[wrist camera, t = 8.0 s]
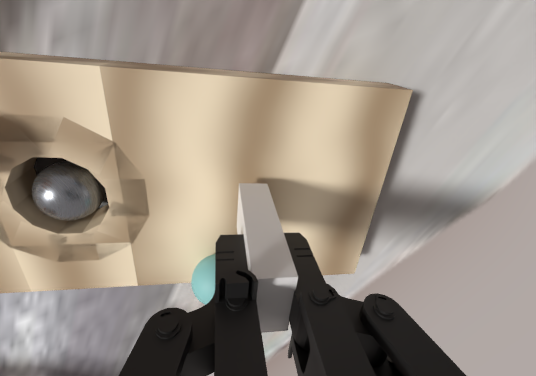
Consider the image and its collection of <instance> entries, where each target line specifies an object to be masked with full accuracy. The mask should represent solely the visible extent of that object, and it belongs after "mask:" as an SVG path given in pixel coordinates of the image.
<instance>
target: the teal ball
mask: <svg viewBox="0 0 536 376" xmlns="http://www.w3.org/2000/svg"><path fill="white" fill-rule="evenodd" d="M191 284H192V289H193V292H194V294H195V296H196V297H197V299H198V300H199V301H200V302H202V303H203V304H205V305H206V304H207V303H209V301H210V300H211V299H212V297H213V295H214V293H215V254H214V255H210V256H207V257H206V258H204V259H203V260H201V261H200V262H199V263H198V264H197V266H196V267H195V269H194V271H193V274H192V281H191Z"/></svg>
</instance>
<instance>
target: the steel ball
mask: <svg viewBox="0 0 536 376" xmlns="http://www.w3.org/2000/svg"><path fill="white" fill-rule="evenodd" d="M32 197H33V200H34V202H35V204H36V206H37V207H38V208H39V209H40V210H41V211H42V212H43V213H44V214H46V215H48V216H50V217H52V218H55V219H58V220H66V221H71V220H78V219H81V218H84V217H86V216H88V215H90V214H92V213H93V212H94V211H95V210H96V209H97V208H98V207H99V206H100V204H101V202H102V200H103V197H104V186H103V185H102V184H101V183H100V182H99V181H98V180H97V179H96V178H95V177H94V175H93V174H92V173H91V172H90V171H89V170H88V169H86V168H83V167H81V166H79V165H77V164H74V163H72V162H70V161H68V162H59V163H55V164H52V165H50V166H48V167H46V168H45V169H44V170H42V171H41V172H40V173H39V174H38V175H37V177H36V178H35V180H34V183H33V186H32Z"/></svg>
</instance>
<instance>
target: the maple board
mask: <svg viewBox="0 0 536 376" xmlns="http://www.w3.org/2000/svg"><path fill="white" fill-rule="evenodd" d="M412 92H413V90H410V89H407V88H403V87H400V86H396V85H393V84H389V83H380V82H368V81H356V80H343V79H331V78H319V77H306V76H294V75H282V74H269V73H257V72H245V71H232V70H220V69H208V68H195V67H183V66H171V65H158V64H146V63H134V62H121V61H109V60H97V59H84V58H72V57H60V56H47V55H35V54H23V53H10V52H0V293H14V292H32V291H49V290H67V289H85V288H103V287H121V286H139V285H156V284H174V283H191V281H192V274H193V271H194V269H195V267H196V266H197V264H198V263H199V262H200V261H201V260H203V259H204V258H206V257H207V256H210V255H214V254H215V248H216V241H217V240H218V238H219V236H220V235H237V210H238V192H239V183H261V184H268V187H269V190H270V193H271V196H272V199H273V202H274V205H275V208H276V211H277V214H278V217H279V220H280V223H281V226H282V229H283V232H284V233H300V234H301V235H303V236H304V237H305V238H306V239H307V241H308V243H309V246H310V249H311V250H312V253H313V256H314V257H315V260H316V262H317V264H318V266H319V269H320V271H321V273H322V275H335V274H353V273H355V270H356V267H357V264H358V261H359V257H360V254H361V251H362V248H363V245H364V242H365V239H366V235H367V232H368V229H369V226H370V223H371V220H372V217H373V214H374V210H375V207H376V204H377V201H378V198H379V195H380V192H381V189H382V185H383V182H384V179H385V176H386V173H387V170H388V167H389V163H390V160H391V157H392V154H393V151H394V148H395V145H396V142H397V138H398V135H399V132H400V129H401V126H402V123H403V120H404V117H405V113H406V110H407V107H408V104H409V101H410V98H411V95H412ZM37 157H47V158H63V159H65V160H68V161H70V162H72V163H74V164H77V165H79V166H81V167H83V168H86V169H88V170H89V171H90V172H91V173H92V174H93V175H94V177H95V178H96V179H97V180H98V181H99V182H100V183H101V184H102V185H103V186H104V187H105V190H106V195H107V200H108V204H107V205H105V206H103V207H101V208H99V209H96V210H95V211H94V212H93V213H92V214H90V215H88V216H86V217H84V218H81V219H78V220H71V221H66V220H58V219H55V218H52V217H50V216H48V215H46V214H44V213H43V212H42V211H41V210H40V209H39V208H38V207H37V206H36V204H35V202H34V200H33V197H32V186H33V183H34V180H35V178H36V177H37V175H36V172H35V169H34V165H35V162H36V160H37Z"/></svg>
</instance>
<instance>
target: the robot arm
mask: <svg viewBox="0 0 536 376" xmlns="http://www.w3.org/2000/svg"><path fill="white" fill-rule="evenodd" d="M289 321H290V325H291V329H292V336H291V341H290V345H289V350H288V358H291V357H292V352H293V356H294V360H295V364H296V368H297V373H298V376H466V375H465V374H464V373H463V372H462V371H461V370H460V369H459V368H458V367H457V365H456V364H455V363H454V362H453V361H452V360H451V359H450V358H449V357H448V356H447V355H446V354H445V353H444V352H443V351H442V350H441V348H440V347H439V346H438V345H437V344H436V343H435V342H434V341H433V340H432V339H431V338H430V337H429V336H428V335H427V334H426V333H425V332H424V330H422V328H421V327H419V325H418V324H417V323H416V322H415V321H414V320H413V319H412V318H411V317H410V316H409V315H408V314H407V313H406V311H405V310H404V309H403V308H402V307H401V306H400V305H399V304H398V303H397V302H395V301H394V300H393V299H391V298H389V297H387V296H385V295H381V294H370V295H369V296H367V297H366V298H365V300H364V302H361V301H357V300H352V299H348V298H345V297H342V296H340V295H338V293H337V292H336V290H335V289H334V288H333V287H331V286H330V285H329V284H326V282H325V280H324V278H323V276H322V273H321V271H320V269H319V266H318V264H317V262H316V260H315V257H314V256H313V253H312V250H311V249H310V246H309V243H308V241H307V239H306V238H305V237H304V236H303V235H301V234H300V233H284V232H283V229H282V226H281V223H280V220H279V217H278V214H277V211H276V208H275V205H274V202H273V199H272V196H271V193H270V190H269V187H268V184H261V183H239V192H238V210H237V235H220V236H219V238H218V240H217V241H216V248H215V293H214V295H213V297H212V299H211V300H210V301H209V303H207V304H206V305H205V306H203V307H201V308H199V309H197V310H194V311H192V312H189V313H187V312H186V311H185V310H182V309H179V308H167V309H164V310H161V311H159V312H157V313H156V314H154V315H153V316H152V317H151V318H150V319H149V320H148V322H147V323H146V324H145V326H144V328H143V330H142V332H141V334H140V336H139V338H138V340H137V342H136V344H135V346H134V347H133V349H132V351H131V353H130V355H129V357H128V359H127V361H126V363H125V365H124V367H123V369H122V371H121V372H120V374H119V376H207V375H209V374H211V373H213V372H214V376H268V375H267V368H266V362H265V355H264V348H263V342H262V335H261V333H262V332H274V331H285V330H288V325H289Z"/></svg>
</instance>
